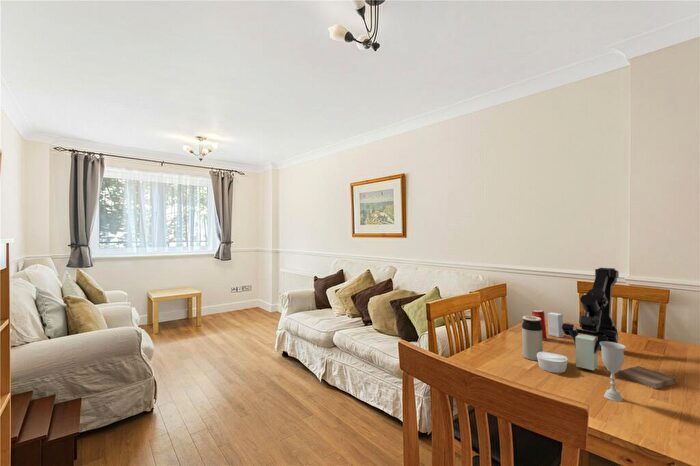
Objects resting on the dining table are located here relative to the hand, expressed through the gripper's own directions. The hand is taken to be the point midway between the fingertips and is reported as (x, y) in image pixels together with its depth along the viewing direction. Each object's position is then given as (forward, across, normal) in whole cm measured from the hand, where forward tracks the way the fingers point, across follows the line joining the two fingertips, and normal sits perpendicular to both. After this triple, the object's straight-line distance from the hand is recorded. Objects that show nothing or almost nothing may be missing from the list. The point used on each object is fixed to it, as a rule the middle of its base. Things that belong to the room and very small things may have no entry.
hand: (585, 350), depth 136 cm
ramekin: (+11, -10, 0) cm, 15 cm away
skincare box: (-23, -23, +35) cm, 48 cm away
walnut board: (+1, +18, +10) cm, 21 cm away
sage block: (+4, 0, +6) cm, 7 cm away
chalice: (+20, +12, -8) cm, 24 cm away
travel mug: (+6, -20, +5) cm, 22 cm away
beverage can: (-16, -27, +27) cm, 42 cm away
